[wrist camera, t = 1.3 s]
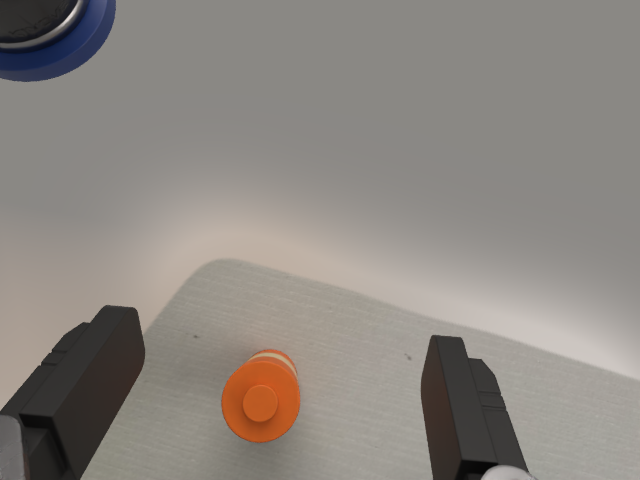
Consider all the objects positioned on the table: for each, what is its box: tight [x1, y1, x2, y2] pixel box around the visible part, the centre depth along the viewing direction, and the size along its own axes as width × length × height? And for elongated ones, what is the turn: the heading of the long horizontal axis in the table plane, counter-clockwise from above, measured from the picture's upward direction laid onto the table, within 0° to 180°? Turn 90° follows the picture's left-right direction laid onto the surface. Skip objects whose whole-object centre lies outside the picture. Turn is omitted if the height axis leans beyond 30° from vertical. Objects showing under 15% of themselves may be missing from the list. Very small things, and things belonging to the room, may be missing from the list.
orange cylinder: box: [222, 350, 300, 443], centre depth 25 cm, size 4×4×10 cm
